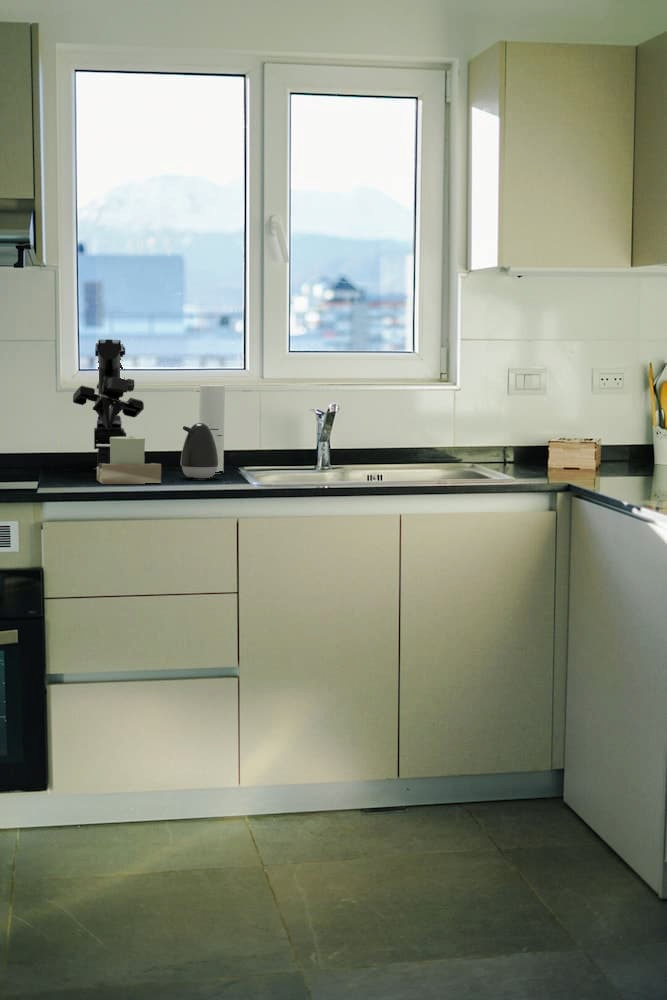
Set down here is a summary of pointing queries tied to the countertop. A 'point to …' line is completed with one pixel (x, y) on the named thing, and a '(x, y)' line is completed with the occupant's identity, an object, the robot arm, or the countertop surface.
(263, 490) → the countertop surface
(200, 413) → the cylindrical container
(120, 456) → the can
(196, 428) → the pump dispenser
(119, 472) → the frame
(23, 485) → the countertop surface
